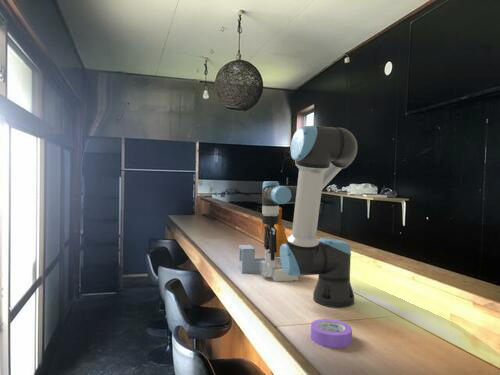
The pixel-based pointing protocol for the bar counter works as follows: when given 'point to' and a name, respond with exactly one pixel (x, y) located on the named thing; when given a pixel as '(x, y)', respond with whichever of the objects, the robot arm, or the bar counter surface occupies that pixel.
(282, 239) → the wine bottle
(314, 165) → the robot arm
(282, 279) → the cradle
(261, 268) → the grey long rectangular block
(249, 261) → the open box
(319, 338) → the masking tape
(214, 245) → the bar counter surface
